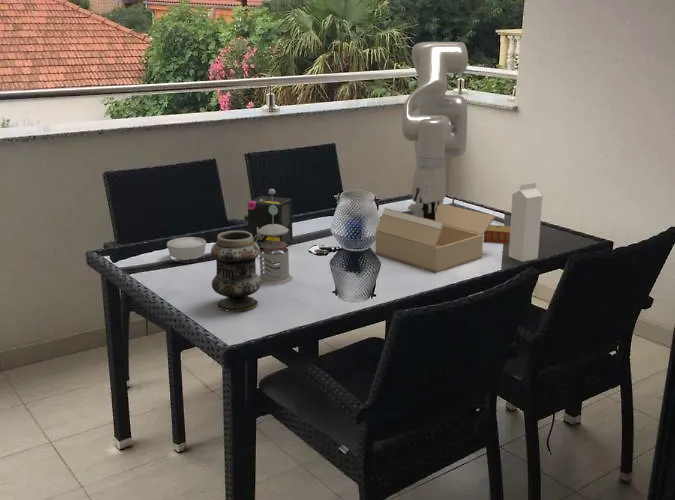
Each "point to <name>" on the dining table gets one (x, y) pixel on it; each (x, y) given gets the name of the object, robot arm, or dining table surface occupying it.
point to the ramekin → (186, 247)
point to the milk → (525, 223)
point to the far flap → (463, 218)
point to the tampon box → (270, 217)
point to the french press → (274, 254)
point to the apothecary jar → (236, 270)
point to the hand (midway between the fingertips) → (429, 225)
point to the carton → (497, 234)
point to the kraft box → (432, 249)
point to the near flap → (410, 227)
